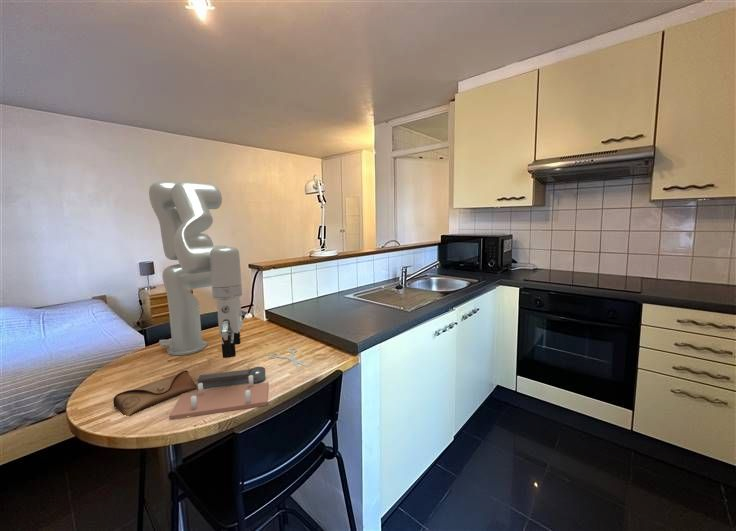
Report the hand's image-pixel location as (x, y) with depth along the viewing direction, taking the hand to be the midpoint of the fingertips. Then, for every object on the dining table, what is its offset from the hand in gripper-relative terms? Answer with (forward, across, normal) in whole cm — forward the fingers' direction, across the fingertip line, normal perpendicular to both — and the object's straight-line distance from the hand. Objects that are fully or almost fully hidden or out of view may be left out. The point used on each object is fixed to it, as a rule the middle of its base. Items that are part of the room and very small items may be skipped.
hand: (232, 350), depth 88 cm
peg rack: (+10, -9, +2) cm, 14 cm away
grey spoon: (+10, +1, 0) cm, 10 cm away
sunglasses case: (+10, -2, +18) cm, 21 cm away
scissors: (+11, +12, -16) cm, 23 cm away
